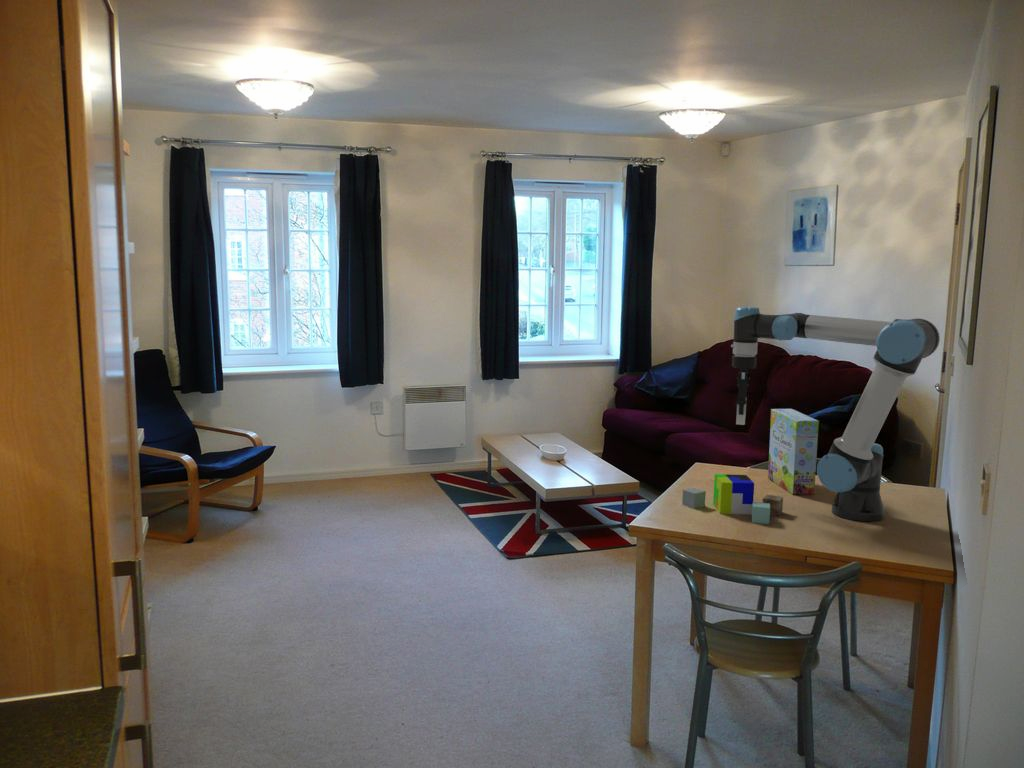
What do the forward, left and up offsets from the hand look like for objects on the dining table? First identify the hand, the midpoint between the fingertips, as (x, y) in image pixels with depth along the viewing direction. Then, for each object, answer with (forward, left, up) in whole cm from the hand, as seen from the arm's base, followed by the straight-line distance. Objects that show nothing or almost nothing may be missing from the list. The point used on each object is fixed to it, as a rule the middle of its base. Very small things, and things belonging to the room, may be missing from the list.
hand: (740, 420), depth 275 cm
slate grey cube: (+5, +17, -26) cm, 32 cm away
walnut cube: (-15, +5, -26) cm, 31 cm away
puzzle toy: (-5, +11, -27) cm, 29 cm away
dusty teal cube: (-17, +15, -26) cm, 35 cm away
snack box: (-4, -28, -27) cm, 39 cm away
